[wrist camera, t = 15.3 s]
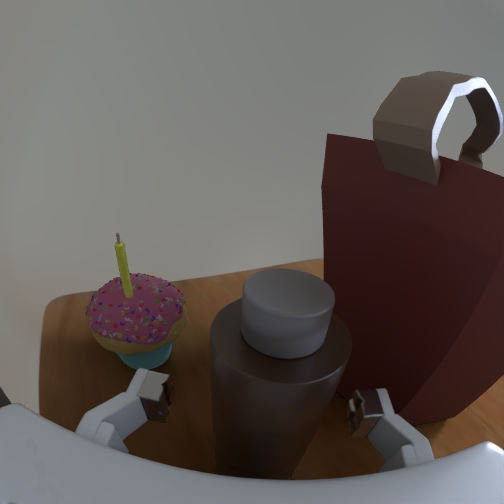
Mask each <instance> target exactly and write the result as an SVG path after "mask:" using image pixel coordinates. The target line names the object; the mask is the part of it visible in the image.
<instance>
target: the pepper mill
mask: <svg viewBox="0 0 504 504" xmlns="http://www.w3.org/2000/svg"><path fill="white" fill-rule="evenodd" d="M334 304H335V294H334V292H333V290H332V288H331V287H330V286H329V285H328V284H327V283H326V282H325V281H323V280H322V279H320V278H318V277H316V276H314V275H311V274H309V273H306V272H302V271H297V270H291V269H269V270H264V271H260V272H257V273H255V274H253V275H252V276H250V277H249V278H248V279H247V280H246V282H245V284H244V286H243V297H242V298H240V299H238V300H235V301H233V302H231V303H229V304H228V305H226V306H225V307H224V308H222V309H221V310H220V311H219V312H218V314H217V315H216V316H215V318H214V320H213V322H212V325H211V328H210V357H211V391H212V414H213V433H214V449H215V464H216V474H217V475H224V476H233V477H242V478H254V479H271V480H289V479H290V477H291V475H292V474H293V472H294V470H295V469H296V467H297V465H298V464H299V462H300V460H301V458H302V457H303V455H304V453H305V451H306V449H307V448H308V446H309V444H310V442H311V440H312V438H313V436H314V435H315V433H316V431H317V429H318V427H319V425H320V423H321V421H322V419H323V417H324V415H325V413H326V411H327V409H328V406H329V404H330V402H331V400H332V398H333V396H334V393H335V391H336V389H337V387H338V384H339V382H340V380H341V377H342V375H343V373H344V370H345V368H346V365H347V363H348V360H349V358H350V355H351V351H352V339H351V335H350V332H349V330H348V328H347V327H346V325H345V324H344V322H343V321H342V320H341V319H340V318H339V317H338V316H337V315H336V314H334V313H333V308H334Z"/></svg>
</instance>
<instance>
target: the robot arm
mask: <svg viewBox="0 0 504 504" xmlns="http://www.w3.org/2000/svg"><path fill="white" fill-rule="evenodd" d="M171 383H172V375H169V374H164V373H160V372H156V371H152V370H148V369H144V368H139V369H138V370H137V371H136V373H135V375H134V377H133V379H132V381H131V383H130V385H129V387H128V389H127V391H126V393H125V392H122V393H120V394H119V395H117V396H115V397H113V398H111V399H110V400H108V401H106V402H104V403H103V404H101V405H99V406H97V407H95V408H93V409H92V410H90V411H88V412H86V413H85V414H84V416H83V418H82V420H81V422H80V423H79V425H78V427H77V429H76V431H75V433H74V432H72V431H70V430H68V429H66V428H63V427H61V426H59V425H57V424H55V423H54V422H52V421H50V420H48V419H46V418H44V417H42V416H41V415H39V414H37V413H35V412H34V411H32V410H30V409H29V408H27V407H25V406H23V405H22V404H19V403H14V404H10V405H7V406H4V407H2V408H0V504H504V450H502V449H501V448H500V447H498V446H497V445H495V444H494V443H492V442H490V441H485V442H482V443H480V444H477V445H475V446H473V447H470V448H467V449H465V450H462V451H459V452H457V453H454V454H451V455H448V456H445V457H442V458H438V459H435V458H434V455H433V452H432V449H431V446H430V443H429V440H428V439H427V438H426V437H424V436H423V435H422V434H421V433H420V432H418V431H417V430H416V429H415V428H414V427H412V426H411V425H410V424H409V423H408V422H406V421H405V420H404V419H403V418H402V417H400V416H399V415H398V414H395V413H394V410H393V407H392V404H391V401H390V398H389V395H388V393H387V390H386V389H385V388H383V389H364V390H355V391H354V392H353V394H352V399H351V400H349V402H348V404H347V407H346V418H347V420H348V421H349V422H350V424H349V426H348V429H349V434H350V438H355V437H366V438H367V439H368V440H369V441H370V442H371V443H372V445H373V446H374V447H375V448H376V449H377V450H378V452H379V453H380V454H381V455H382V456H383V457H384V458H385V460H386V461H387V462H386V463H385V464H384V465H383V466H382V467H381V468H380V469H379V473H374V474H367V475H360V476H352V477H343V478H331V479H314V480H271V479H254V478H242V477H233V476H224V475H217V474H210V473H204V472H199V471H193V470H188V469H183V468H179V467H174V466H170V465H166V464H162V463H158V462H154V461H150V460H147V459H143V458H140V457H137V456H134V455H130V454H128V452H129V451H128V449H127V447H126V445H125V444H124V442H123V441H122V440H123V439H125V438H126V437H127V436H128V435H130V434H131V433H132V432H134V431H135V430H136V429H137V428H139V427H140V426H141V425H143V424H144V423H145V422H146V421H148V419H149V420H153V421H158V422H162V423H166V420H167V417H168V414H169V410H168V407H169V406H170V405H172V402H173V398H174V386H173V385H172V384H171Z"/></svg>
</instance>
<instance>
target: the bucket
mask: <svg viewBox="0 0 504 504" xmlns="http://www.w3.org/2000/svg"><path fill="white" fill-rule="evenodd" d="M462 95H465V96H466V97H467V99H468V101H469V103H470V105H471V107H472V109H473V111H474V113H475V117H476V123H477V126H476V127H475V129H474V131H473V133H472V135H471V136H470V137H469V138H468V140H467V141H466V142H465V143H464V144H463V146H462V149H461V152H460V156H459V160H458V161H456V160H453V159H449V158H446V157H442V156H439V155H438V153H437V149H436V146H435V144H436V141H437V139H438V136H439V133H440V130H441V127H442V125H443V123H444V121H445V119H446V116H447V115H448V112H449V110H450V108H451V105H452V104H453V101H454V99H455V97H458V96H462ZM503 125H504V120H503V117H502V113H501V110H500V107H499V104H498V101H497V99H496V97H495V95H494V94H493V92H492V90H491V89H490V87H489V85H488V84H487V82H486V81H485V79H484V78H479V77H474V76H469V75H463V74H457V73H450V72H441V71H433V72H426V73H424V74H421V75H419V76H411V77H405V78H401V80H400V81H399V82H398V83H397V85H396V86H395V87H394V89H393V90H392V91H391V92H390V94H389V95H388V96H387V98H386V99H385V100H384V102H383V103H382V104H381V106H380V108H379V109H378V111H377V113H376V115H375V117H374V118H373V139H374V141H373V140H367V139H361V138H355V137H348V136H342V135H335V134H327V141H326V151H325V161H324V170H323V178H322V186H321V188H322V207H323V208H322V210H323V239H324V241H323V243H324V281H325V282H326V283H327V284H328V285H329V286H330V287H331V288H332V290H333V292H334V294H335V304H334V308H333V313H334V314H336V315H337V316H338V317H339V318H340V319H341V320H342V321H343V322H344V324H345V325H346V327H347V328H348V330H349V332H350V335H351V339H352V351H351V355H350V358H349V360H348V363H347V365H346V368H345V370H344V373H343V375H342V377H341V380H340V382H339V384H338V387H337V389H336V391H337V392H338V393H340V394H341V395H342V396H343V397H344V398H345V399H347V400H348V401H349V400H351V399H352V394H353V392H354V391H355V390H364V389H383V388H385V389H386V390H387V393H388V395H389V398H390V401H391V404H392V407H393V410H394V413H395V414H398V415H399V416H400V417H402V418H403V419H404V420H405V421H406V422H408V423H409V424H410V425H411V426H413V425H419V424H424V423H429V422H434V421H439V420H444V419H448V418H452V417H455V416H456V415H457V414H459V413H460V412H461V411H463V410H464V409H465V408H466V407H468V406H469V405H470V404H471V403H473V402H474V401H475V400H476V399H477V398H479V397H480V396H481V395H482V394H483V393H484V392H485V391H487V390H488V389H489V388H490V387H491V386H492V385H493V384H494V383H495V382H496V381H497V380H498V379H499V378H500V377H502V376H503V375H504V177H502V176H500V175H497V174H494V173H492V172H489V171H486V170H483V169H482V164H483V163H482V161H481V159H482V155H481V154H482V153H484V152H485V151H487V150H488V149H490V148H491V147H492V146H493V145H494V144H495V143H496V141H497V140H498V139H499V137H500V135H501V134H502V132H503Z"/></svg>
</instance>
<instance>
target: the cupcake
mask: <svg viewBox="0 0 504 504" xmlns="http://www.w3.org/2000/svg"><path fill="white" fill-rule="evenodd" d="M116 237H117V242H116V243H115V249H116V255H117V260H118V266H119V271H120V276H121V277H116V278H114V279H113V280H112V281H111V280H110V281H109V282H108V283H106V284H105V285H104V286H103V287H101V288H100V289H99V290H98V291H95V292H94V295H93V296H94V297H92V300H91V302H90V304H89V306H88V307H87V306H86V307H87V308H88V309H87V312H86V315H87V316H88V323H89V327H90V330H91V332H92V334H93V336H94V337H95V339H96V340H97V341H98V343H99V344H100V345H102V346H103V347H104V348H105V349H107V350H109V351H112V352H116V353H117V354H118V356H119V357H120V358H121V359H122V361H123V362H124V363H125V364H126V365H128V366H129V367H131V368H134V369H139V368H144V369H148V370H149V369H153V368H156V367H158V366H160V365H162V364H163V363H164V362H166V360H167V359H168V358H169V356H170V353H171V349H172V345H173V341H174V340H176V339H177V338H178V336H179V335H180V333H181V331H182V330H183V329H184V327H185V325H186V322H187V314H186V309H185V305H184V303H185V300H184V298H183V296H182V295H183V294H181V293H180V291H179V290H177V289H176V288H175V287H174V285H172V284H170V283H169V282H168V281H167V280H163V279H162V278H157V277H154V276H150V275H146V274H140V273H137V274H131V273H129V270H128V264H127V258H126V252H125V245H124V243H123V242H122V241H120V236H119V233H117V234H116Z"/></svg>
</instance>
